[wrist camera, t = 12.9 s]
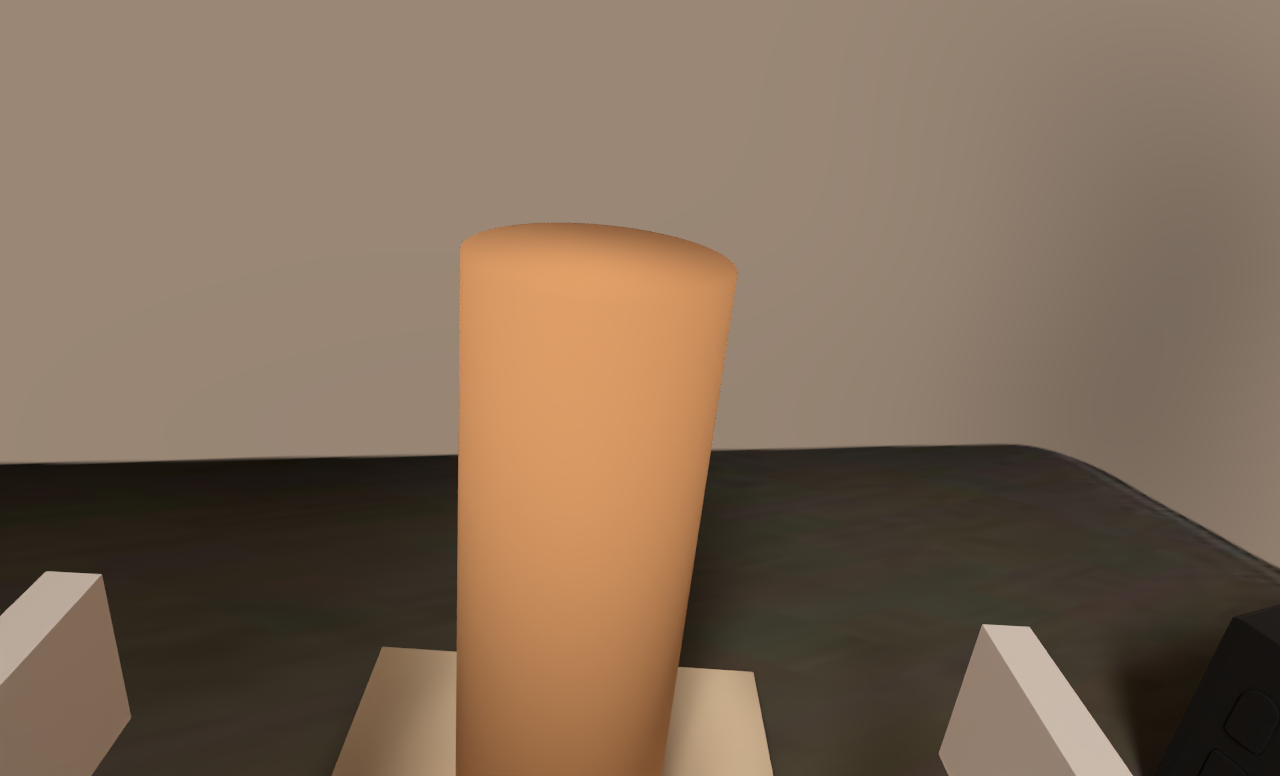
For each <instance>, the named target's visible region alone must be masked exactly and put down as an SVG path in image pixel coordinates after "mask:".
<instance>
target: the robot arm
mask: <svg viewBox="0 0 1280 776" xmlns="http://www.w3.org/2000/svg"><path fill="white" fill-rule="evenodd" d="M130 719H131V714H130V709H129V704H128V700H127V695H126V690H125V685H124V680H123V675H122V670H121V665H120V660H119V655H118V651H117V646H116V641H115V636H114V631H113V626H112V621H111V616H110V611H109V606H108V602H107V597H106V592H105V587H104V582H103V577H102V574H87V573H69V572H52V571H46V572H45V573H44V574H43V575H42V576H41V577H40V578H39V579H38V580H37V581H36V582H35V583H34V584H33V585H32V586H31V587H30V588H29V589H27V590H26V591H25V592H24V593H23V594H22V595H21V596H20V597H19V598H18V599H17V600H16V601H15V602H14V603H13V604H12V605H11V606H10V607H9V608H8V609H7V610H6V611H5V612H4V613H3V614H2V615H1V616H0V776H91V775H92V774H93V773H94V771H95V770H96V768H97V767H98V765H99V764H100V762H101V761H102V759H103V758H104V757H105V755H106V754H107V752H108V751H109V749H110V748H111V746H112V745H113V743H114V742H115V740H116V739H117V738H118V736H119V735H120V733H121V732H122V730H123V729H124V727H125V726H126V724H127V723H128V722H129V720H130ZM939 756H940V758H941V760H942V762H943V765H944V767H945V769H946V771H947V773H948V776H1133V775H1132V774H1131V772H1130V771H1129V769H1128V768H1127V767H1126V765H1125V764H1124V762H1123V761H1122V759H1121V758H1120V756H1119V755H1118V754H1117V752H1116V751H1115V749H1114V748H1113V746H1112V745H1111V744H1110V742H1109V741H1108V739H1107V738H1106V736H1105V735H1104V733H1103V732H1102V731H1101V729H1100V728H1099V726H1098V725H1097V723H1096V722H1095V721H1094V719H1093V718H1092V716H1091V715H1090V713H1089V712H1088V710H1087V709H1086V708H1085V706H1084V705H1083V703H1082V702H1081V700H1080V699H1079V697H1078V696H1077V695H1076V693H1075V692H1074V690H1073V689H1072V687H1071V686H1070V685H1069V683H1068V682H1067V680H1066V679H1065V677H1064V676H1063V674H1062V673H1061V672H1060V670H1059V669H1058V667H1057V666H1056V664H1055V663H1054V661H1053V660H1052V659H1051V657H1050V656H1049V654H1048V653H1047V651H1046V650H1045V649H1044V647H1043V646H1042V644H1041V643H1040V641H1039V640H1038V638H1037V637H1036V636H1035V634H1034V633H1033V631H1032V630H1031V628H1030V627H1020V626H1002V625H985V624H982V627H981V630H980V632H979V635H978V638H977V641H976V644H975V647H974V650H973V653H972V656H971V659H970V662H969V665H968V668H967V671H966V674H965V677H964V680H963V683H962V686H961V689H960V692H959V695H958V698H957V701H956V704H955V707H954V710H953V713H952V716H951V719H950V722H949V725H948V728H947V731H946V734H945V736H944V739H943V742H942V745H941V748H940V751H939Z"/></svg>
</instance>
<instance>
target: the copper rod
mask: <svg viewBox="0 0 1280 776" xmlns="http://www.w3.org/2000/svg"><path fill="white" fill-rule="evenodd" d="M736 280H737V269H736V267H735V266H734V264H733V263H732V262H731V261H730V260H729V259H727V258H726V257H725V256H723V255H721V254H719V253H718V252H716V251H714V250H712V249H709V248H707V247H705V246H702V245H699V244H697V243H694V242H690V241H687V240H684V239H681V238H677V237H672V236H669V235H664V234H660V233H655V232H651V231H645V230H639V229H633V228H626V227H618V226H608V225H598V224H582V223H533V224H520V225H512V226H505V227H499V228H494V229H490V230H487V231H483V232H480V233H478V234H475V235H473V236H471V237H470V238H468V239H466V240H465V241H464V243H462V246H461V248H460V346H459V347H460V348H459V351H460V352H459V354H460V355H459V455H458V564H457V673H456V776H662V771H663V764H664V758H665V751H666V744H667V738H668V731H669V724H670V718H671V711H672V704H673V698H674V691H675V685H676V678H677V671H678V665H679V658H680V651H681V645H682V638H683V632H684V625H685V618H686V612H687V605H688V598H689V592H690V585H691V578H692V572H693V565H694V559H695V552H696V545H697V539H698V532H699V525H700V519H701V512H702V505H703V499H704V492H705V486H706V479H707V472H708V466H709V459H710V452H711V446H712V439H713V432H714V425H715V419H716V412H717V406H718V399H719V393H720V386H721V379H722V373H723V365H724V360H725V353H726V346H727V339H728V333H729V326H730V320H731V312H732V306H733V300H734V293H735V287H736Z"/></svg>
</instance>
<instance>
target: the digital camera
mask: <svg viewBox="0 0 1280 776" xmlns="http://www.w3.org/2000/svg"><path fill="white" fill-rule="evenodd" d="M1155 776H1280V605H1277V606H1274V607H1270V608H1266V609H1262V610H1258V611H1255V612H1251V613H1247V614H1243V615H1240V616H1236V617H1233V619H1232V621H1231V622H1230V624H1229V626H1228V628H1227V630H1226V632H1225V634H1224V636H1223V638H1222V640H1221V642H1220V644H1219V646H1218V648H1217V650H1216V652H1215V654H1214V656H1213V658H1212V660H1211V662H1210V664H1209V666H1208V668H1207V670H1206V672H1205V675H1204V677H1203V679H1202V681H1201V683H1200V685H1199V687H1198V689H1197V691H1196V693H1195V695H1194V697H1193V699H1192V701H1191V703H1190V705H1189V707H1188V709H1187V711H1186V713H1185V715H1184V717H1183V719H1182V722H1181V724H1180V726H1179V728H1178V730H1177V732H1176V734H1175V736H1174V738H1173V740H1172V742H1171V744H1170V746H1169V748H1168V750H1167V752H1166V754H1165V756H1164V758H1163V760H1162V762H1161V764H1160V766H1159V769H1158V771H1157V773H1156V775H1155Z"/></svg>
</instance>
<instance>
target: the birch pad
mask: <svg viewBox="0 0 1280 776" xmlns="http://www.w3.org/2000/svg"><path fill="white" fill-rule="evenodd" d="M456 673H457V652H451V651H437V650H422V649H407V648H393V647H382V649H381V651H380V654H379V657H378V659H377V662H376V664H375V667H374V669H373V672H372V674H371V677H370V679H369V682H368V684H367V687H366V689H365V692H364V695H363V697H362V700H361V702H360V705H359V707H358V710H357V712H356V715H355V717H354V720H353V722H352V725H351V727H350V730H349V733H348V735H347V738H346V740H345V743H344V745H343V748H342V750H341V753H340V755H339V758H338V760H337V763H336V765H335V768H334V771H333V773H332V776H456ZM662 776H773V772H772V767H771V762H770V757H769V751H768V746H767V741H766V736H765V731H764V725H763V720H762V715H761V710H760V705H759V699H758V694H757V689H756V684H755V678H754V673H753V672H745V671H730V670H716V669H701V668H686V667H678V671H677V678H676V685H675V691H674V698H673V704H672V711H671V718H670V724H669V731H668V738H667V744H666V751H665V758H664V764H663V771H662Z"/></svg>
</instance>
